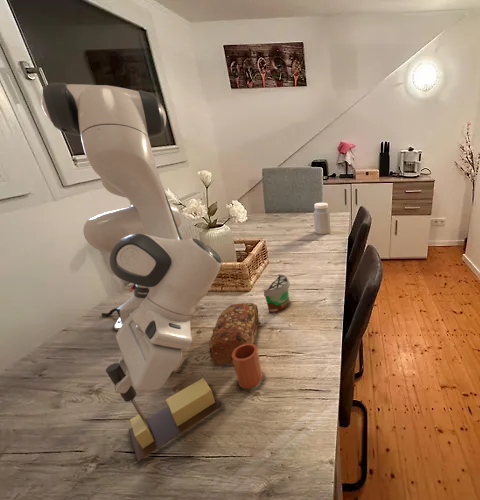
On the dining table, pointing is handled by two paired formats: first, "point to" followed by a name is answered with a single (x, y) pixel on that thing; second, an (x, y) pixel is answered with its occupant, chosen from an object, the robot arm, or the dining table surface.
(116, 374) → the dark grey rod
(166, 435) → the butter board
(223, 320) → the bread
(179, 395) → the butter block
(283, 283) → the food container
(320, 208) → the jar
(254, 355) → the crock
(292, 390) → the dining table surface
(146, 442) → the butter slice
